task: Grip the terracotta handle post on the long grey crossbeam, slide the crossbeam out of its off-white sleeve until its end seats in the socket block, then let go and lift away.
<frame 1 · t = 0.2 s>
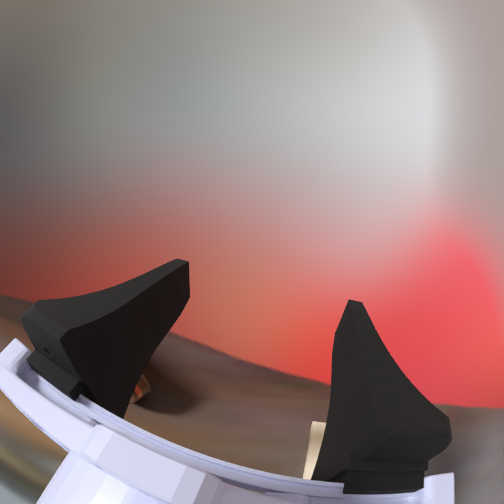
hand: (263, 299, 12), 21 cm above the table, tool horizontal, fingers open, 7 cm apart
tin: (110, 375, 29), on the table
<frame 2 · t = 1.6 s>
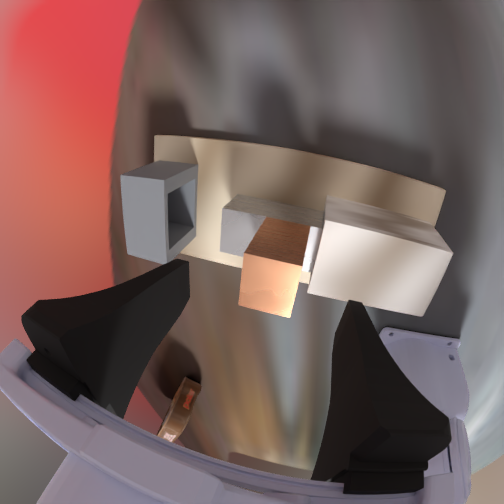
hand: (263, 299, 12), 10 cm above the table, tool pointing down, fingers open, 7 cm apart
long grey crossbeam: (333, 261, 15), point 5 cm above the table, slide at 0.0 cm
tube stand: (320, 223, 20), on the table
tin: (188, 391, 37), on the table
socket: (180, 196, 22), resting on tube stand
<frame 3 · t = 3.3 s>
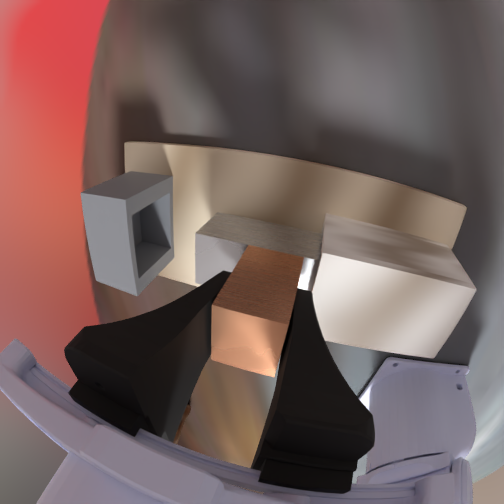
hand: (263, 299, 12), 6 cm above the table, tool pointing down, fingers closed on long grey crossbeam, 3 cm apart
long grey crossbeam: (331, 301, 12), point 5 cm above the table, slide at 0.0 cm, touching gripper
tube stand: (317, 245, 17), on the table
tin: (178, 410, 34), on the table
socket: (156, 212, 19), resting on tube stand
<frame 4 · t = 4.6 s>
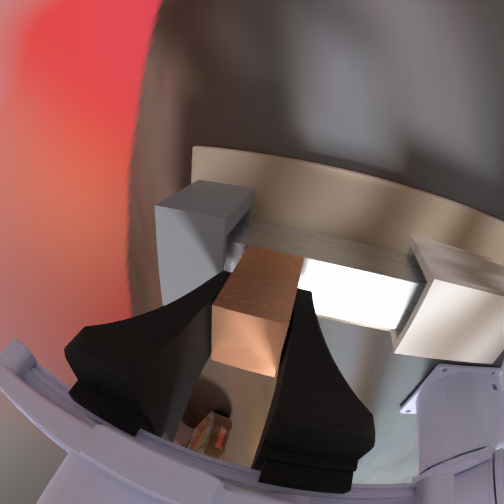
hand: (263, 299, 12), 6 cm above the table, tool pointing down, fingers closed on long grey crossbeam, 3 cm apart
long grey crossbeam: (331, 301, 12), point 5 cm above the table, slide at 5.3 cm, touching gripper
tube stand: (396, 264, 16), on the table
tin: (213, 423, 33), on the table
socket: (225, 226, 18), resting on tube stand
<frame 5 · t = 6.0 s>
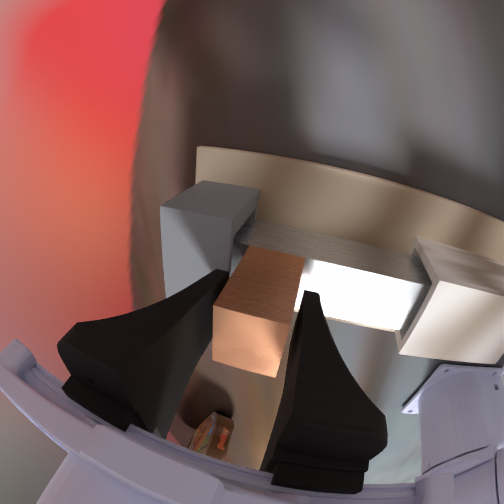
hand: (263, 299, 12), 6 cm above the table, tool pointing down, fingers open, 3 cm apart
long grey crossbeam: (332, 301, 12), point 5 cm above the table, slide at 5.5 cm
tube stand: (400, 265, 16), on the table
tin: (215, 423, 33), on the table
socket: (230, 226, 18), resting on tube stand
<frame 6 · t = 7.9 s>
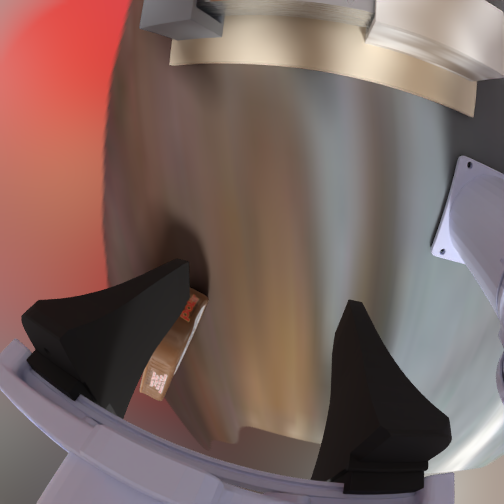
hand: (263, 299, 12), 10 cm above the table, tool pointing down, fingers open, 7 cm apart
tube stand: (365, 17, 12), on the table
tin: (189, 322, 29), on the table
socket: (207, 7, 14), resting on tube stand
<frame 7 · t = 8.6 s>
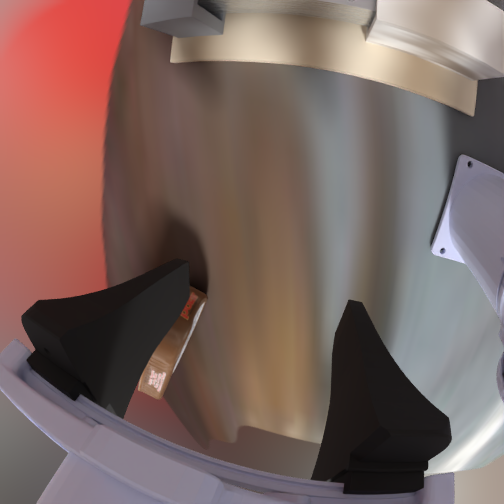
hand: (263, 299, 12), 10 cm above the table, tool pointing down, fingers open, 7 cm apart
tube stand: (366, 15, 12), on the table
tin: (188, 320, 29), on the table
socket: (208, 5, 14), resting on tube stand
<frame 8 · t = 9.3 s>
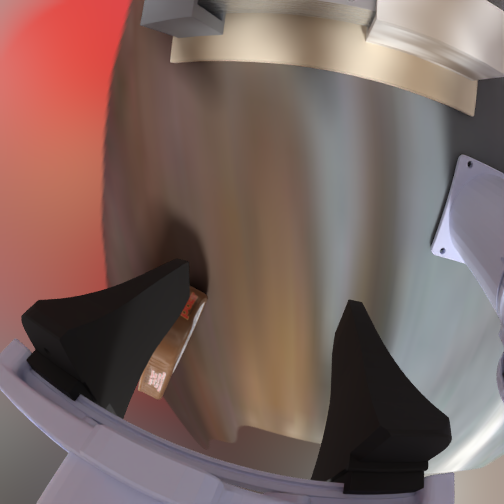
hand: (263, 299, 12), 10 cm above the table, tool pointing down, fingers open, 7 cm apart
tube stand: (366, 15, 12), on the table
tin: (188, 320, 29), on the table
socket: (208, 5, 14), resting on tube stand
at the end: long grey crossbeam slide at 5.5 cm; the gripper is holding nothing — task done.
